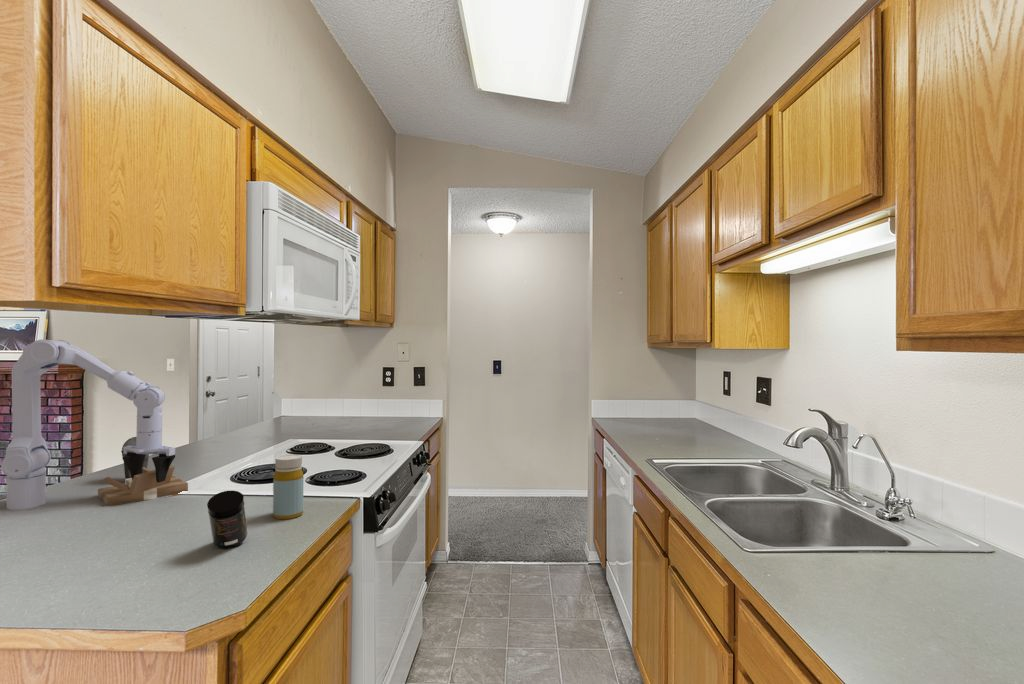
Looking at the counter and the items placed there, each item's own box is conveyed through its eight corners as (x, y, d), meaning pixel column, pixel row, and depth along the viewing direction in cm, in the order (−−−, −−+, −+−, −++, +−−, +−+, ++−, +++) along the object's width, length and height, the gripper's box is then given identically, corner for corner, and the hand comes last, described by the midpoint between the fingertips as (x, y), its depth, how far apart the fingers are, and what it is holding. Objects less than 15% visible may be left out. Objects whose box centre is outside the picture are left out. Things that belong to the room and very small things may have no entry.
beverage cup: (116, 488, 153) (117, 422, 153) (144, 483, 159) (145, 419, 159) (126, 492, 149) (126, 424, 149) (154, 487, 155) (155, 421, 155)
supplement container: (243, 523, 115) (239, 486, 111) (251, 542, 110) (247, 504, 106) (210, 535, 111) (204, 497, 107) (216, 555, 106) (210, 516, 102)
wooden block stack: (97, 503, 139) (97, 483, 139) (173, 489, 153) (173, 470, 153) (110, 514, 130) (110, 492, 130) (189, 498, 143) (189, 478, 144)
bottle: (293, 509, 134) (293, 453, 134) (308, 515, 130) (309, 456, 130) (267, 517, 128) (268, 457, 128) (282, 522, 124) (283, 461, 124)
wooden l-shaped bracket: (103, 481, 134) (109, 463, 134) (143, 470, 146) (148, 454, 146) (131, 494, 133) (137, 477, 133) (169, 482, 145) (174, 466, 145)
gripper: (113, 432, 136) (112, 483, 136) (159, 434, 134) (159, 486, 133) (136, 428, 143) (136, 476, 143) (181, 430, 141) (181, 479, 140)
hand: (148, 480), depth 139 cm, fingers open, 7 cm apart
